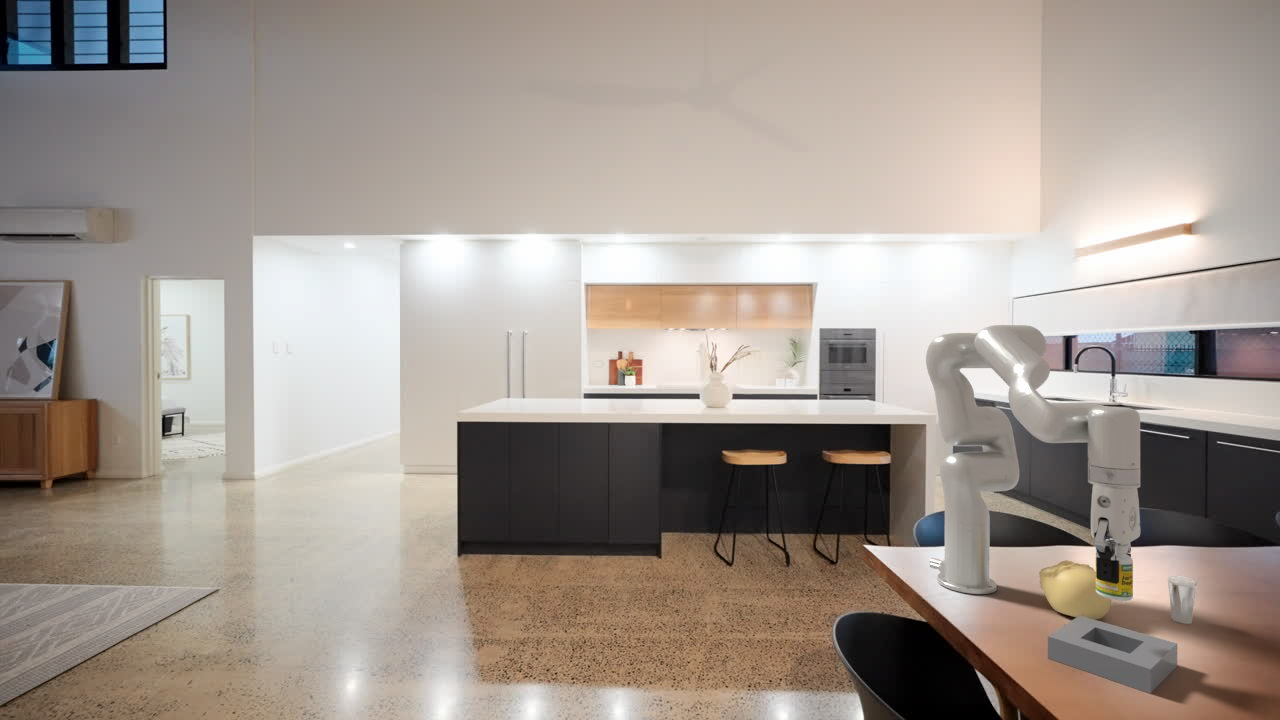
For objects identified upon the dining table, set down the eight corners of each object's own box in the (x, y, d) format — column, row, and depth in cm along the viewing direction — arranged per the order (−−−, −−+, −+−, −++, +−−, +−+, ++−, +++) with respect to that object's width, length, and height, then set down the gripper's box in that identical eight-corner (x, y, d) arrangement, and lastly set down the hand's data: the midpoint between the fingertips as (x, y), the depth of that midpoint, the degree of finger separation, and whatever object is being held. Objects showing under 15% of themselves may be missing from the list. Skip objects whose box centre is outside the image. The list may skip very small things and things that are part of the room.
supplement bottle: (1103, 588, 117) (1103, 536, 117) (1138, 597, 113) (1138, 543, 113) (1090, 594, 114) (1090, 541, 114) (1125, 604, 110) (1125, 548, 110)
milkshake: (1194, 628, 127) (1195, 579, 127) (1163, 618, 132) (1163, 571, 132) (1205, 624, 130) (1206, 575, 129) (1173, 614, 134) (1174, 567, 134)
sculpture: (1075, 600, 142) (1075, 552, 142) (1125, 623, 130) (1125, 571, 130) (1030, 604, 140) (1030, 555, 140) (1076, 627, 128) (1076, 574, 128)
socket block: (1047, 658, 116) (1048, 636, 115) (1079, 635, 125) (1079, 615, 124) (1150, 693, 104) (1150, 669, 103) (1177, 666, 113) (1177, 643, 112)
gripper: (1122, 485, 105) (1122, 594, 105) (1154, 473, 116) (1155, 573, 116) (1070, 478, 111) (1070, 582, 111) (1105, 468, 122) (1106, 562, 122)
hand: (1113, 576), depth 114 cm, fingers closed on supplement bottle, 5 cm apart
